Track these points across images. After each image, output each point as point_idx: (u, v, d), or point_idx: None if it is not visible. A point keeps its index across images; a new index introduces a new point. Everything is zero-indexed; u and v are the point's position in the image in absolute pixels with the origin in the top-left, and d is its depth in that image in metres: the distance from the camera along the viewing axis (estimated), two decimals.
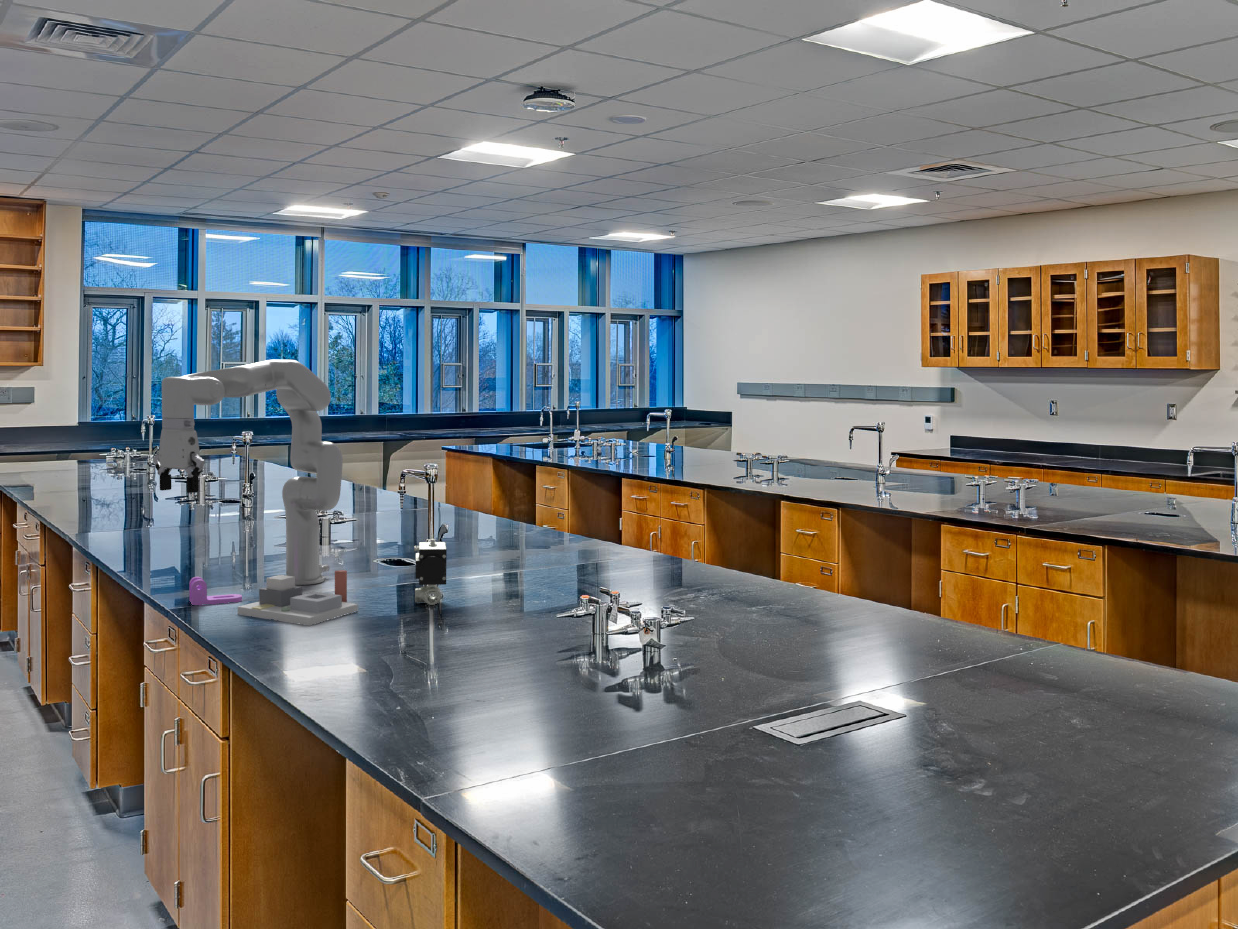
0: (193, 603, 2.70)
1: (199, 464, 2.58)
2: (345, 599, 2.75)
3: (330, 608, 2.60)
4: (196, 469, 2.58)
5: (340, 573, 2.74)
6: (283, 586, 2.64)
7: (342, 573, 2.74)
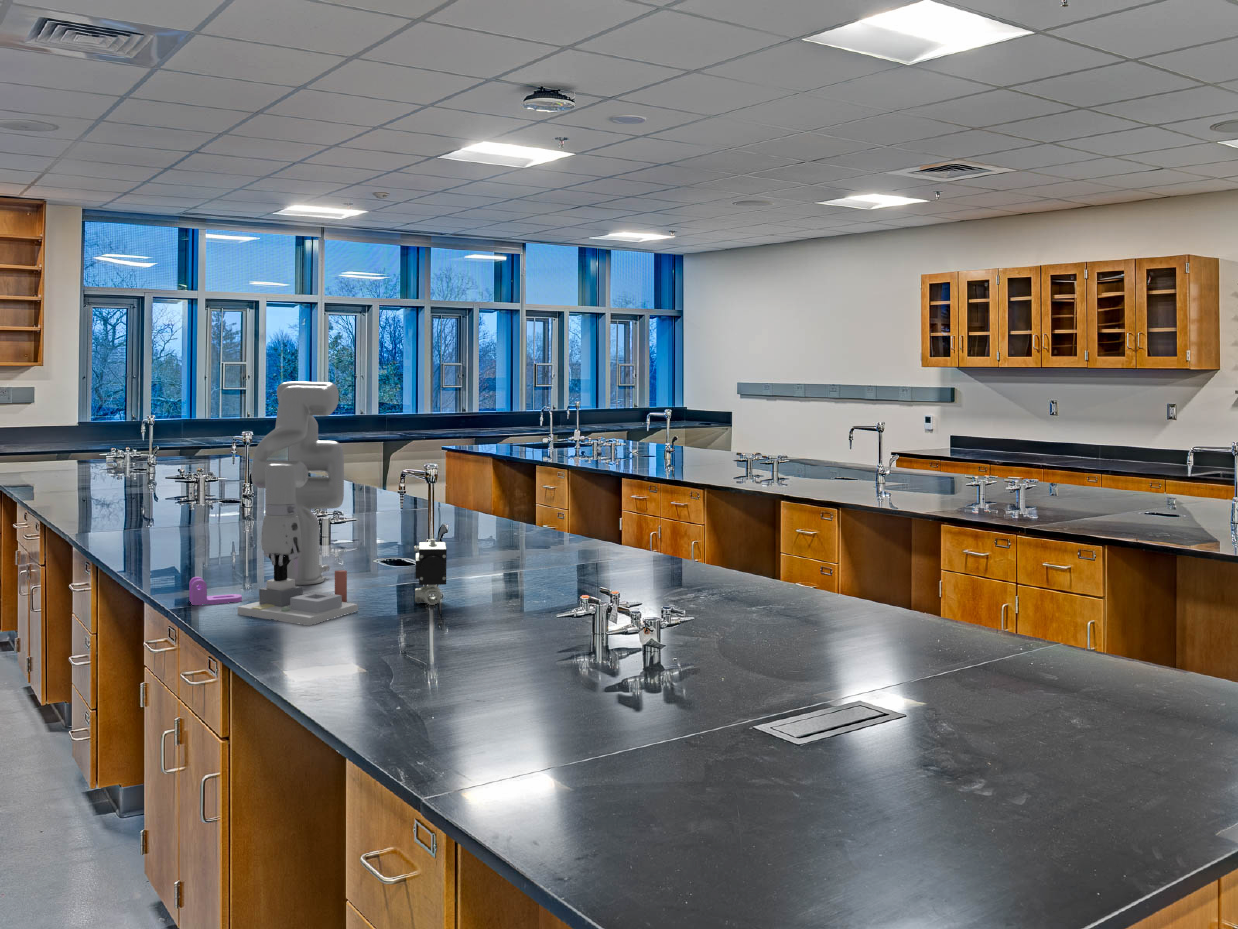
0: (193, 603, 2.70)
1: (291, 558, 2.63)
2: (345, 599, 2.75)
3: (330, 608, 2.60)
4: (286, 558, 2.64)
5: (340, 573, 2.74)
6: (283, 589, 2.64)
7: (342, 573, 2.74)
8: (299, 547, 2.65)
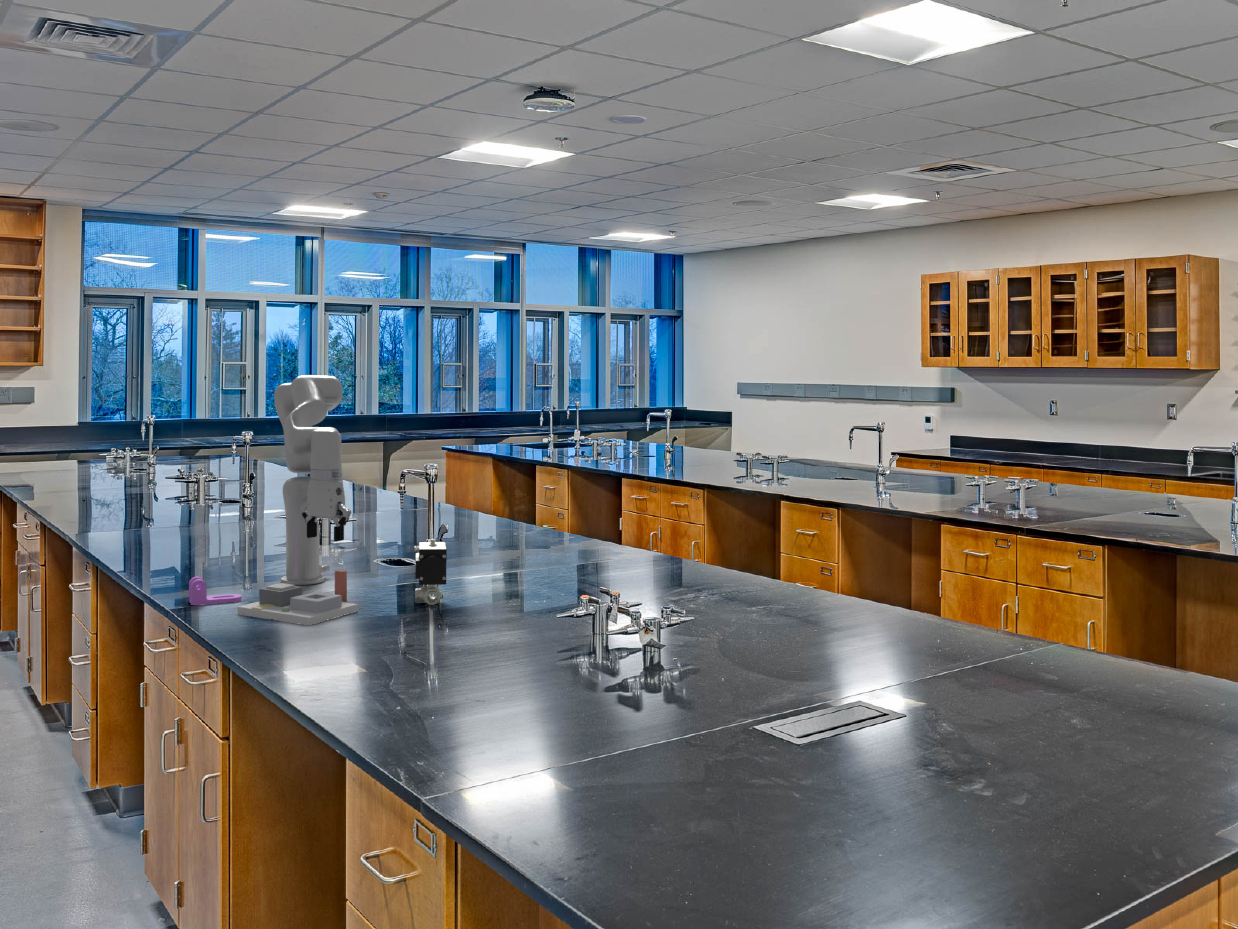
0: (193, 603, 2.70)
1: (346, 514, 2.67)
2: (345, 599, 2.75)
3: (330, 608, 2.60)
4: (343, 519, 2.68)
5: (340, 573, 2.74)
6: None
7: (342, 573, 2.74)
8: None
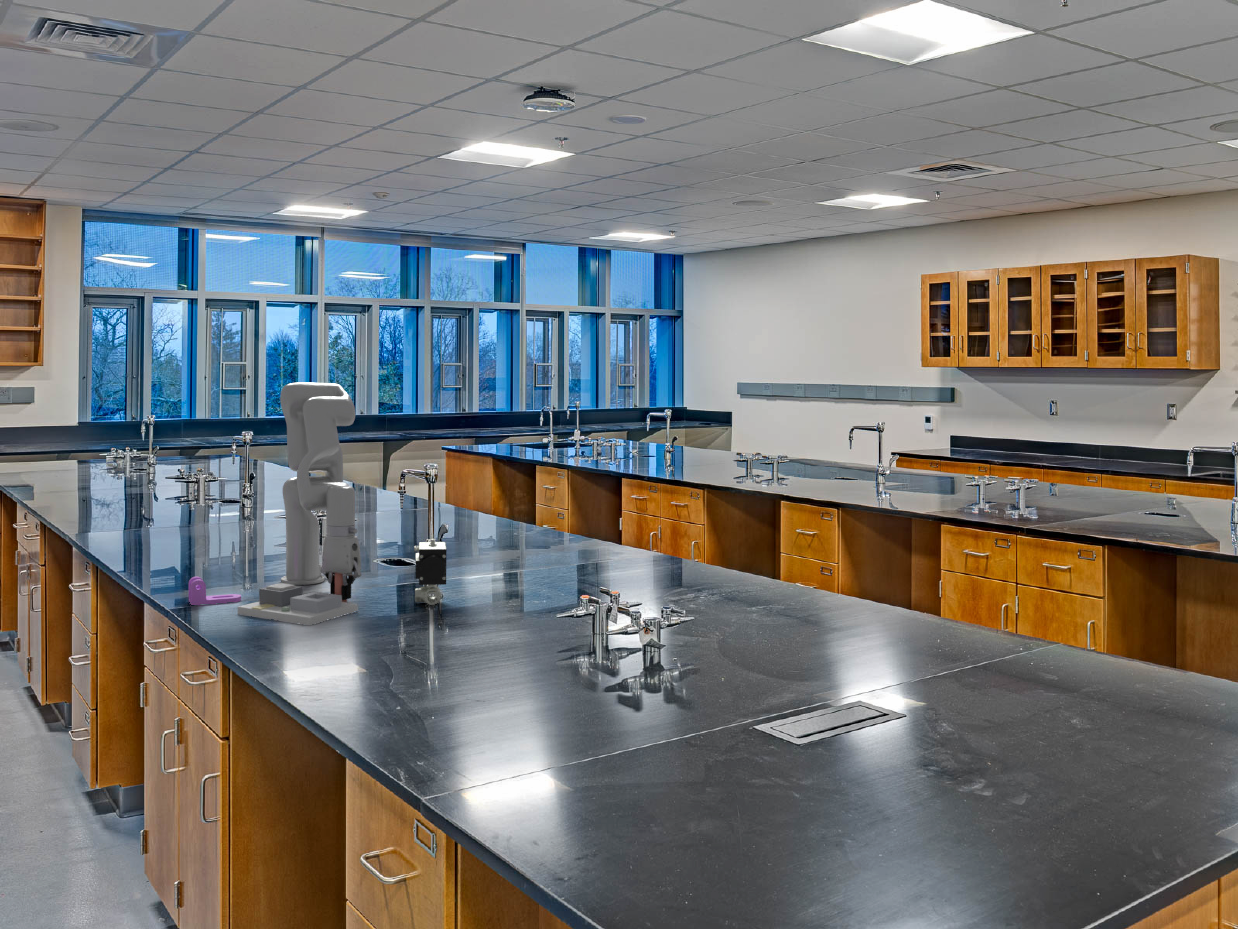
0: (192, 603, 2.70)
1: (355, 576, 2.72)
2: None
3: (330, 608, 2.60)
4: (351, 578, 2.73)
5: None
6: None
7: None
8: (359, 567, 2.74)
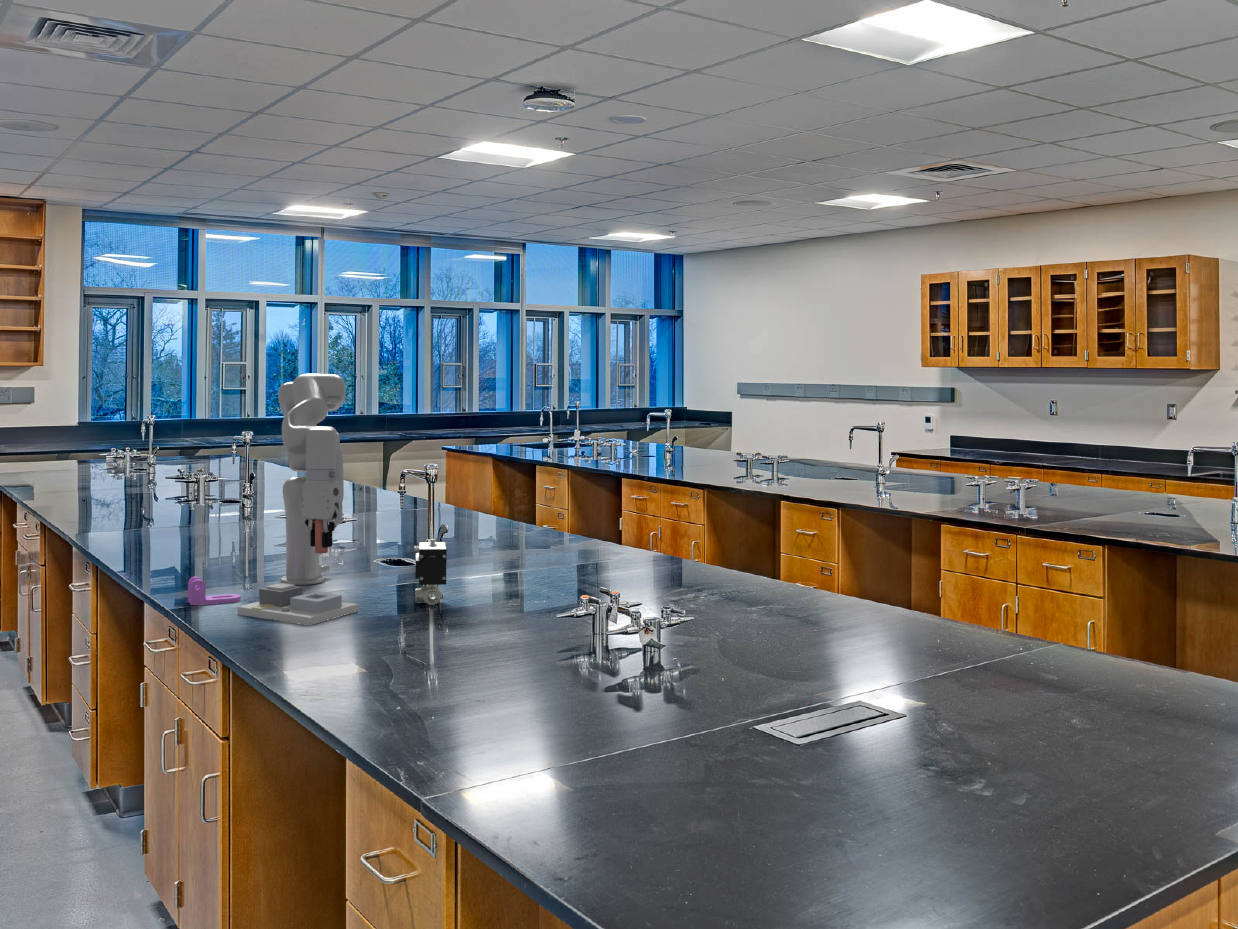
0: (192, 603, 2.70)
1: (337, 522, 2.60)
2: None
3: (330, 608, 2.60)
4: (332, 524, 2.60)
5: None
6: None
7: None
8: (340, 513, 2.62)
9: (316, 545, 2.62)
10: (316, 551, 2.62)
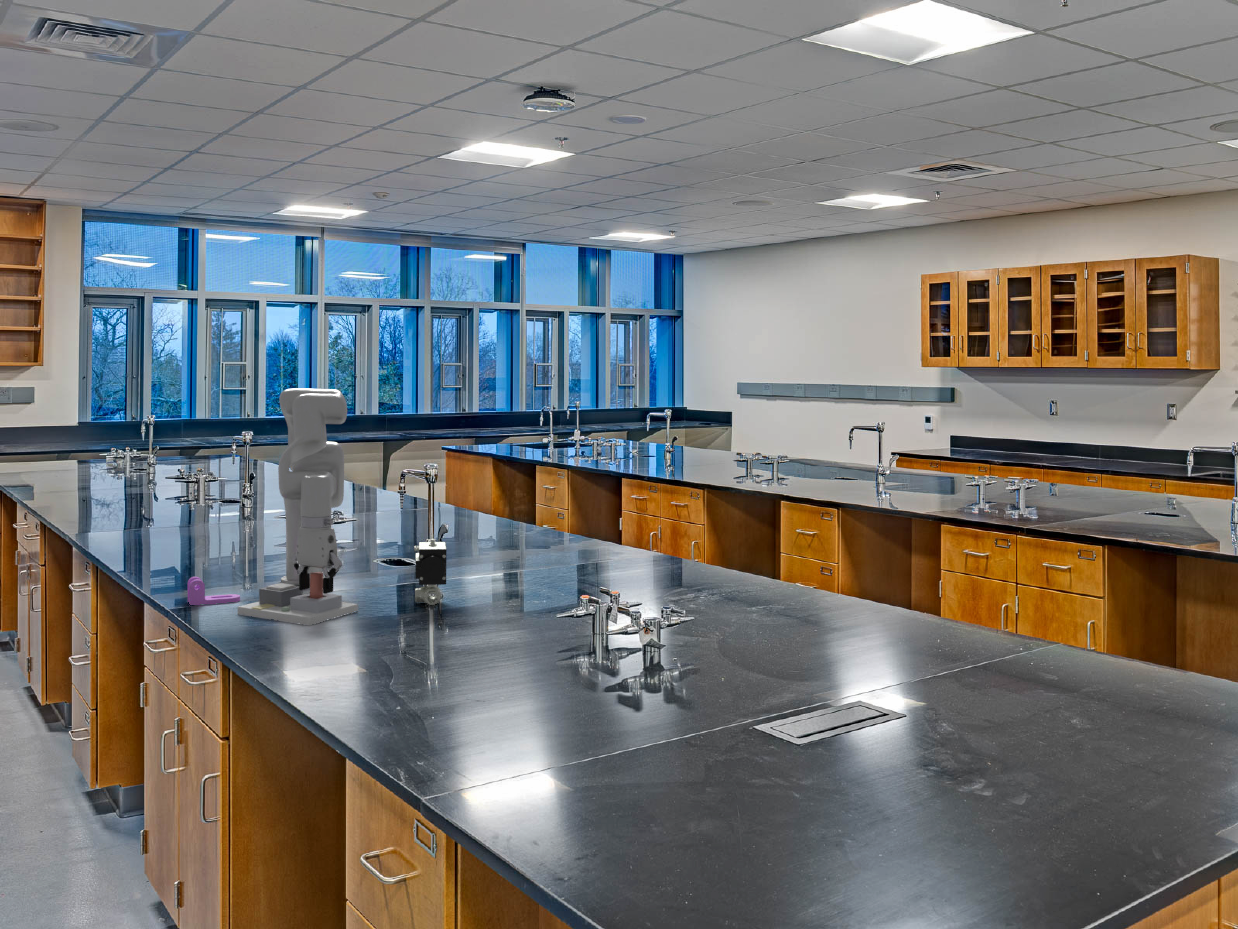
0: (191, 603, 2.70)
1: (337, 566, 2.57)
2: None
3: (330, 608, 2.60)
4: (333, 570, 2.57)
5: (316, 575, 2.59)
6: None
7: (318, 575, 2.60)
8: None
9: None
10: None
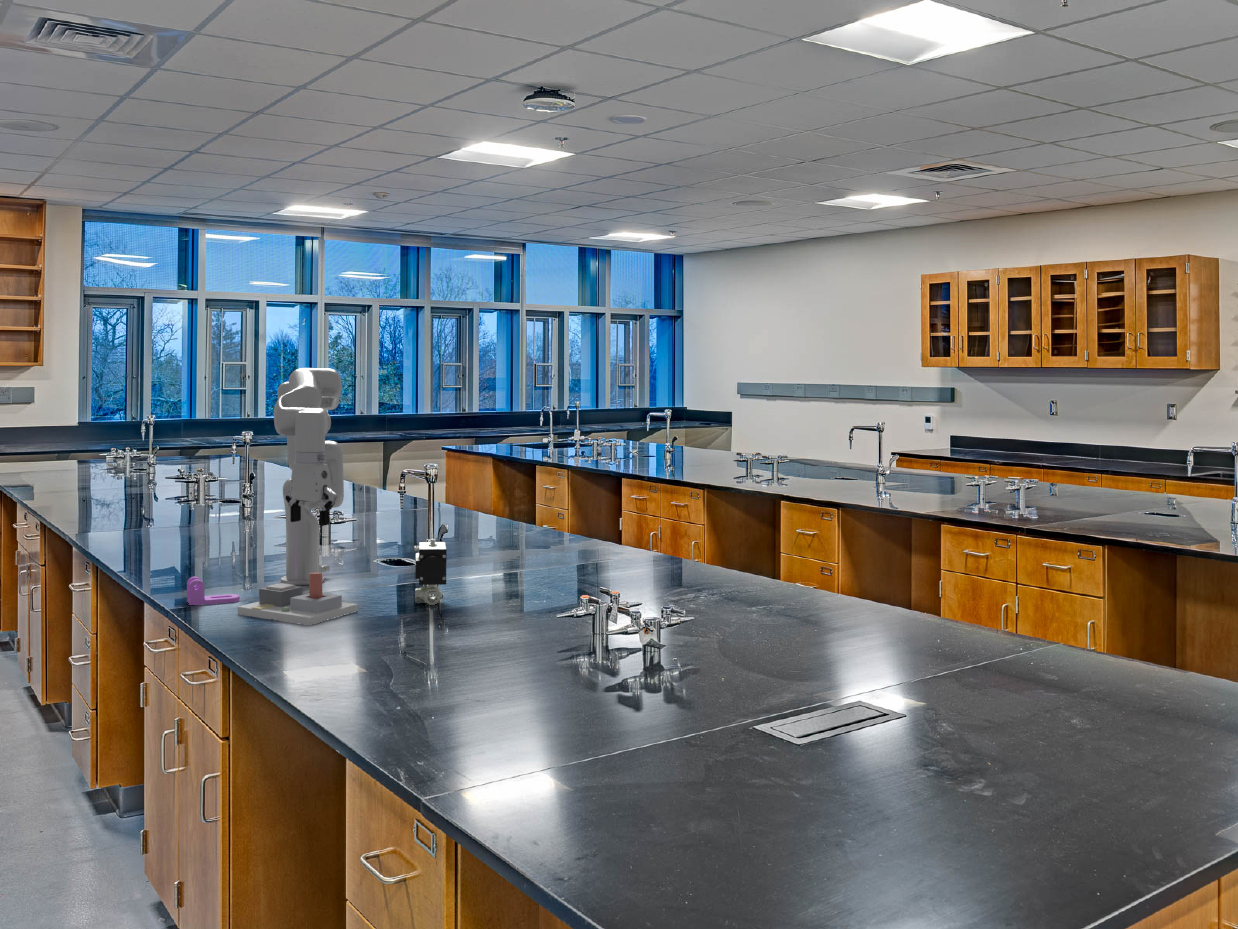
0: (190, 603, 2.70)
1: (332, 498, 2.60)
2: None
3: (330, 608, 2.60)
4: (329, 503, 2.61)
5: (315, 575, 2.59)
6: None
7: (317, 575, 2.60)
8: (329, 495, 2.63)
9: None
10: None
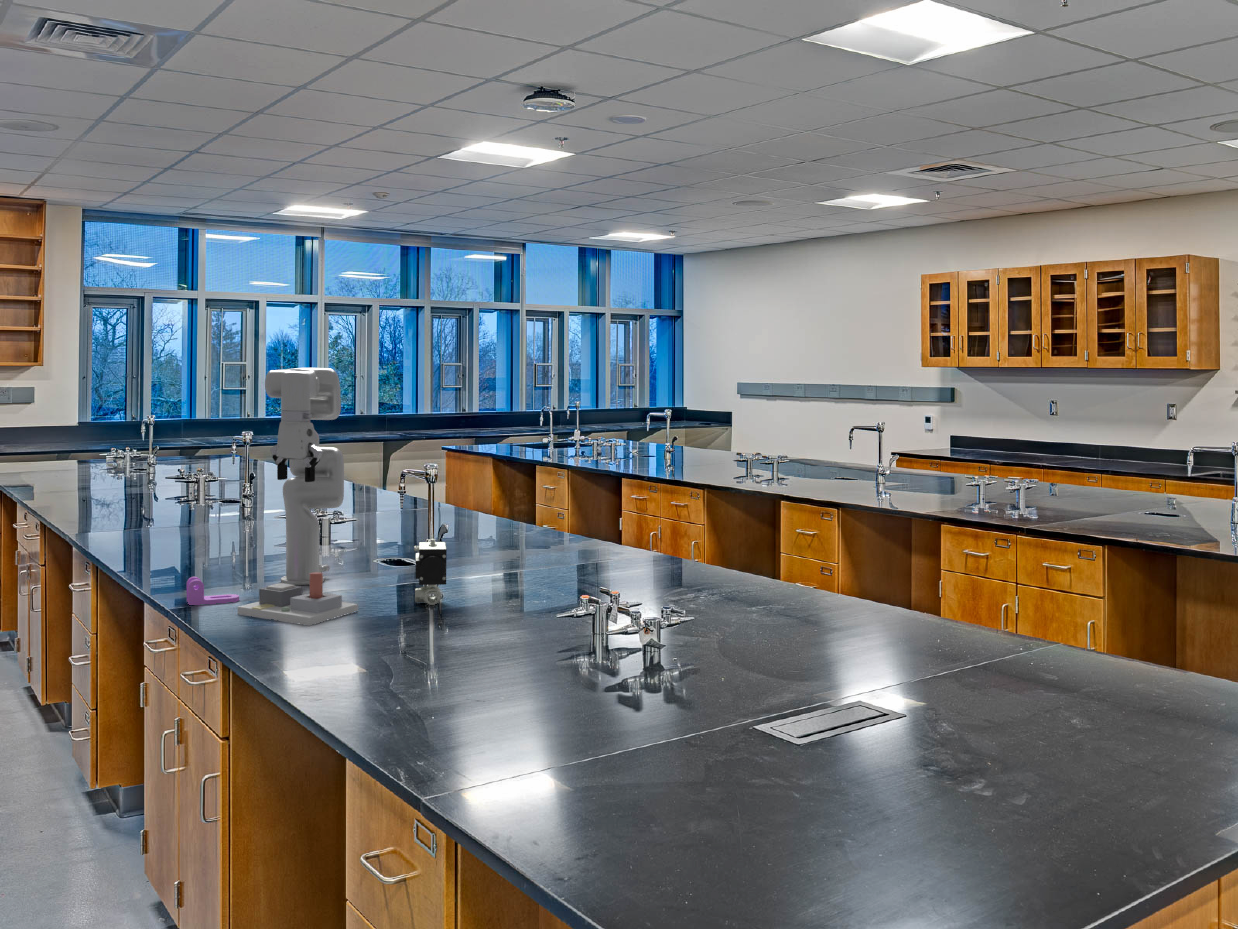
0: (190, 603, 2.70)
1: (317, 454, 2.70)
2: None
3: (330, 608, 2.60)
4: (314, 459, 2.71)
5: (315, 575, 2.59)
6: None
7: (317, 575, 2.60)
8: (314, 453, 2.74)
9: None
10: None
